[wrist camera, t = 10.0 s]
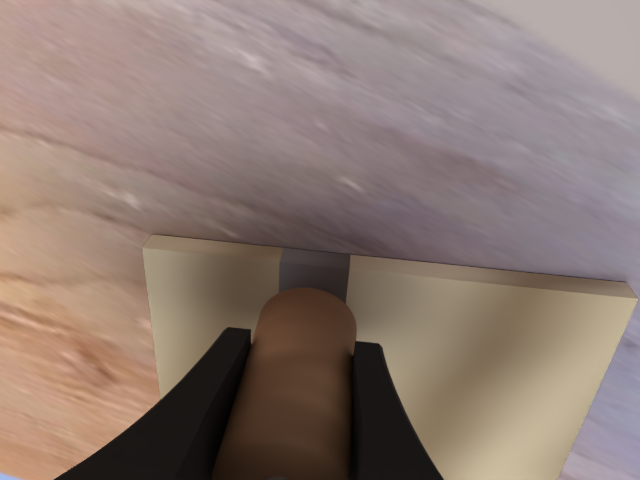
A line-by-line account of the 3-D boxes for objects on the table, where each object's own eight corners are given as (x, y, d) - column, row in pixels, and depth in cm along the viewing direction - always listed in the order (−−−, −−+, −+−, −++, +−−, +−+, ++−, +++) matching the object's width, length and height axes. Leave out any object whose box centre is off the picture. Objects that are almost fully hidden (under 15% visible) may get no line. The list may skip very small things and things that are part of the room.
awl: (357, 289, 14) (343, 554, 8) (356, 366, 16) (343, 641, 10) (254, 285, 14) (168, 539, 8) (262, 361, 16) (192, 626, 10)
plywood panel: (626, 282, 15) (638, 299, 14) (524, 521, 21) (529, 540, 20) (152, 234, 16) (141, 247, 15) (178, 478, 22) (172, 496, 21)
